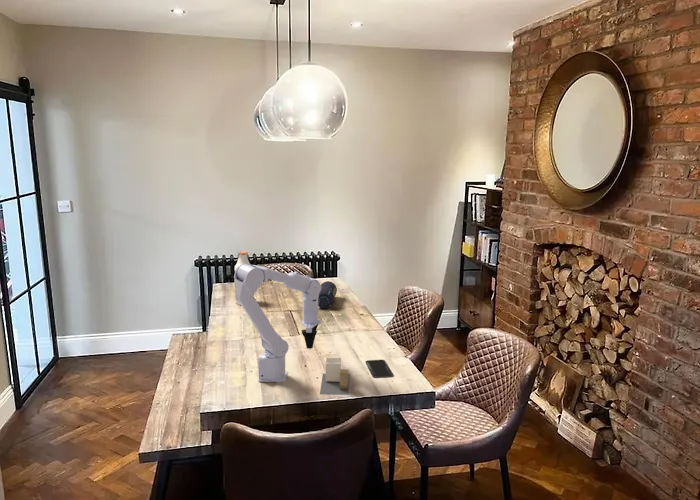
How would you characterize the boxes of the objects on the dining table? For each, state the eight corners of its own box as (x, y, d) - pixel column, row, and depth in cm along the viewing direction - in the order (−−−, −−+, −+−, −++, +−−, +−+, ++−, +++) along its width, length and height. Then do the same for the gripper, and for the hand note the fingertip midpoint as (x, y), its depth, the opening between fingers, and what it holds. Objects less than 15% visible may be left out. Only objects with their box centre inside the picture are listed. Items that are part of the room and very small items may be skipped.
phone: (373, 377, 182) (364, 360, 196) (373, 380, 182) (364, 363, 196) (394, 375, 183) (384, 359, 197) (394, 378, 183) (384, 362, 198)
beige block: (325, 381, 178) (325, 363, 177) (326, 374, 183) (326, 357, 182) (340, 381, 178) (340, 364, 176) (340, 375, 183) (340, 358, 182)
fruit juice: (231, 303, 269) (229, 252, 264) (243, 299, 277) (242, 249, 272) (244, 306, 264) (243, 254, 259) (256, 302, 272) (255, 251, 267)
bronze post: (339, 390, 172) (340, 372, 171) (340, 386, 175) (340, 369, 174) (347, 390, 172) (347, 372, 171) (347, 386, 175) (347, 369, 174)
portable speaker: (333, 310, 260) (333, 291, 258) (314, 309, 261) (314, 291, 259) (337, 296, 285) (337, 279, 283) (320, 296, 285) (320, 279, 283)
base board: (319, 395, 169) (319, 394, 169) (322, 374, 185) (322, 373, 185) (349, 395, 169) (349, 394, 169) (349, 375, 185) (349, 374, 185)
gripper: (319, 316, 179) (319, 351, 182) (322, 303, 194) (322, 337, 196) (300, 315, 179) (300, 351, 182) (304, 303, 194) (304, 337, 196)
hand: (310, 344), depth 189 cm, fingers open, 7 cm apart
